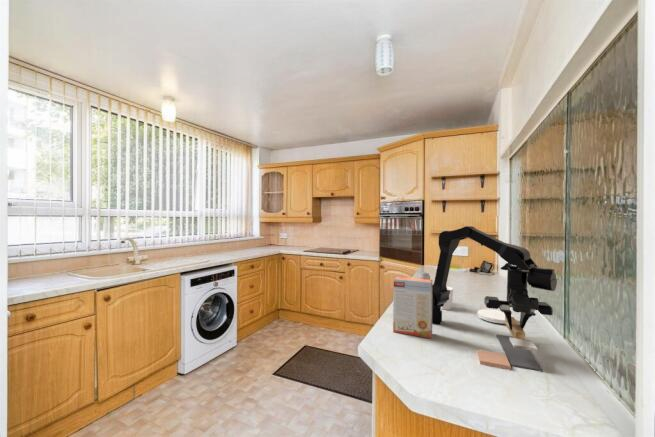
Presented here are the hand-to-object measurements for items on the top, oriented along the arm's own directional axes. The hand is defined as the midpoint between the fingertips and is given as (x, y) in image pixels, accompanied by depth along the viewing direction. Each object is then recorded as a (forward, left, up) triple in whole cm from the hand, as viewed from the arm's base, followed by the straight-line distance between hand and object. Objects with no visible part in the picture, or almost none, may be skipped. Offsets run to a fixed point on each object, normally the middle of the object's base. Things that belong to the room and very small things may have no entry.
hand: (515, 330), depth 98 cm
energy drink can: (-32, +47, -7) cm, 57 cm away
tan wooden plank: (0, 0, -2) cm, 2 cm away
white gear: (-1, +31, -7) cm, 32 cm away
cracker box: (-34, +1, -7) cm, 35 cm away
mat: (0, -1, -7) cm, 7 cm away
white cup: (-22, +39, -7) cm, 45 cm away
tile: (-8, -12, -6) cm, 16 cm away
